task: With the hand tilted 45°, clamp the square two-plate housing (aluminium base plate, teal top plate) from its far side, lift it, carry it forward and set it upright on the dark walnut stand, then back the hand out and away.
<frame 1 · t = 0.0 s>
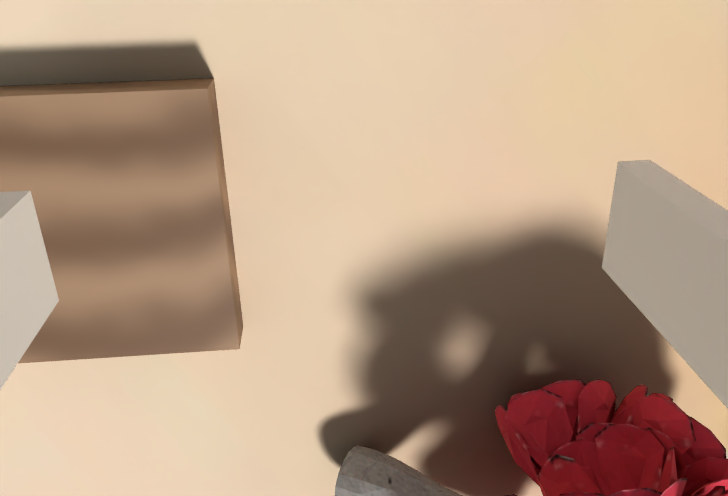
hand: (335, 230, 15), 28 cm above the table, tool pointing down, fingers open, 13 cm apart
walnut stand: (47, 222, 44), on the table
bouquet: (508, 438, 56), on the table
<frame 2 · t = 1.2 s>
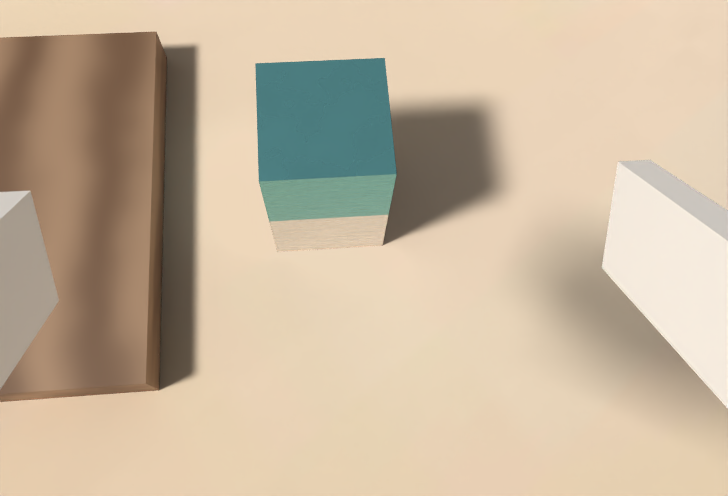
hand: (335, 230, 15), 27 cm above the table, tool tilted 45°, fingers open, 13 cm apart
walnut stand: (25, 217, 43), on the table
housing: (326, 200, 45), on the table
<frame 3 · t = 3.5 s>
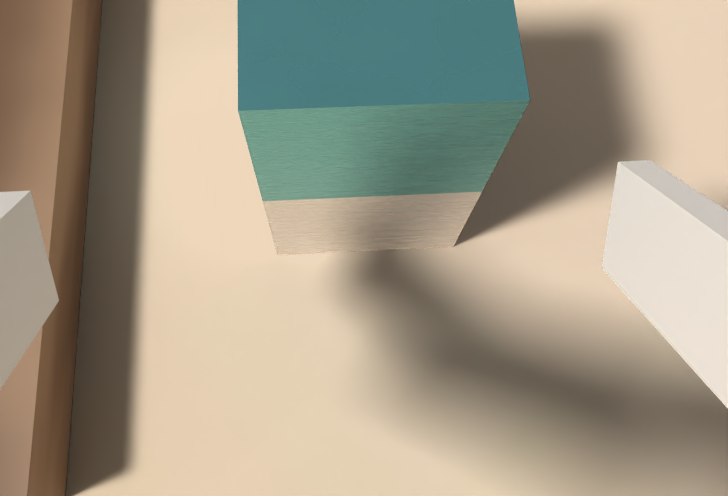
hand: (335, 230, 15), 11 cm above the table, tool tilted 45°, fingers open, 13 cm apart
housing: (360, 171, 27), on the table
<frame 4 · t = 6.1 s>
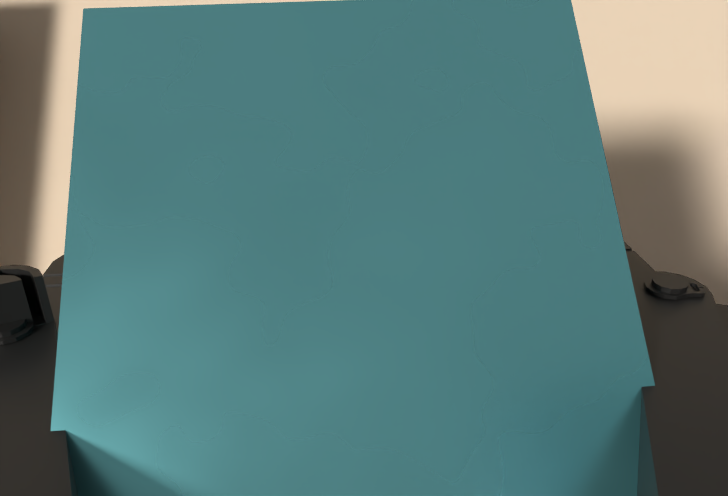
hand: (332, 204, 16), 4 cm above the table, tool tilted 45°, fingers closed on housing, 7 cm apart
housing: (340, 366, 19), on the table, touching gripper
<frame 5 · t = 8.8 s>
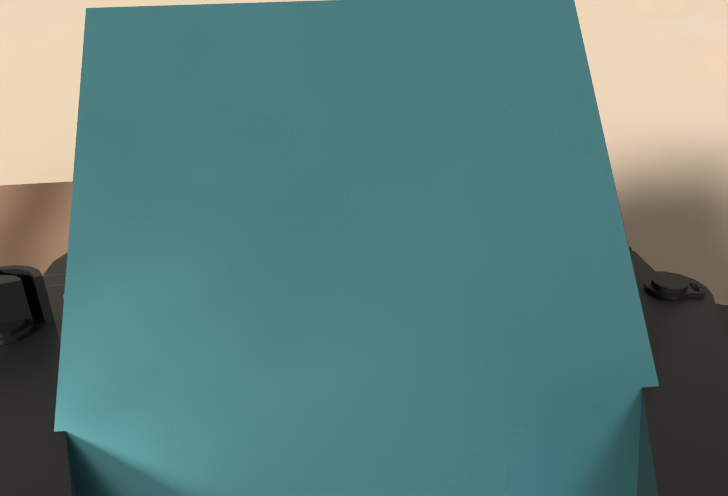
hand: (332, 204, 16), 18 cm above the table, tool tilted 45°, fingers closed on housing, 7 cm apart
walnut stand: (161, 424, 32), on the table
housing: (341, 366, 19), point 15 cm above the table, touching gripper
when the fingers open (8 cm above the table, at t = 11.8 s): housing drops 1 cm, resting on walnut stand.
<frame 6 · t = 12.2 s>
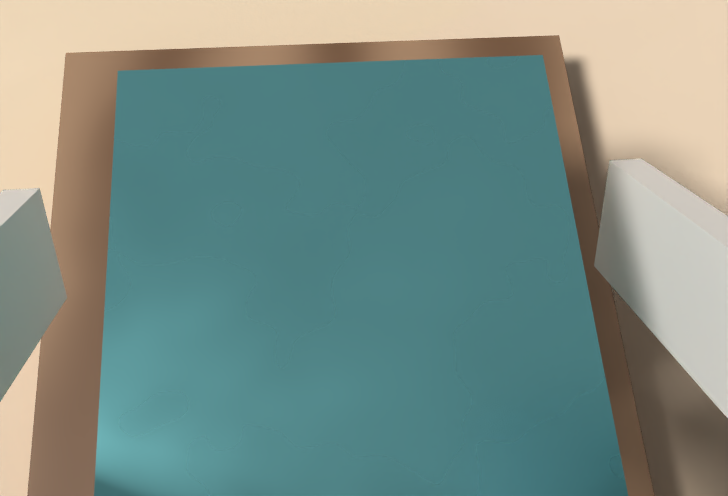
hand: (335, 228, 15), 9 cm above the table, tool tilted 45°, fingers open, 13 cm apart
walnut stand: (338, 386, 23), on the table
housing: (340, 375, 20), point 3 cm above the table, touching walnut stand
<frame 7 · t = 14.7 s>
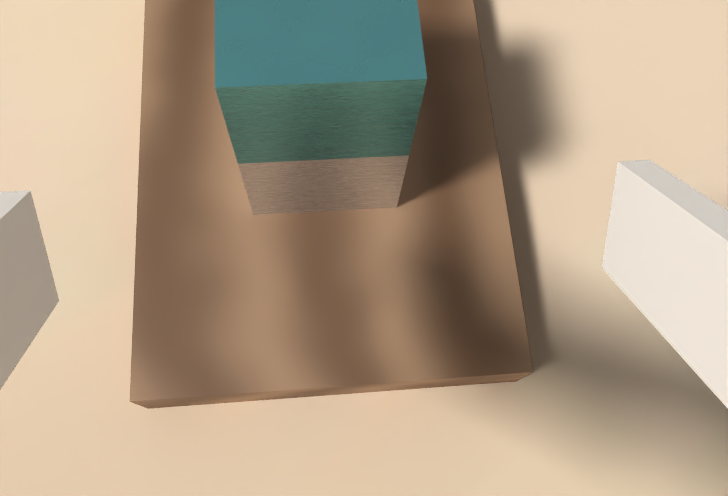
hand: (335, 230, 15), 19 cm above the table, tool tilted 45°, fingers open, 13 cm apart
walnut stand: (321, 172, 36), on the table
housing: (321, 147, 33), point 3 cm above the table, touching walnut stand
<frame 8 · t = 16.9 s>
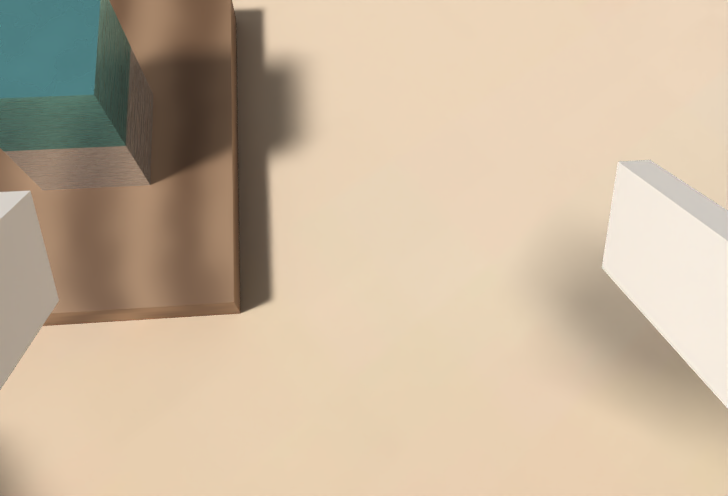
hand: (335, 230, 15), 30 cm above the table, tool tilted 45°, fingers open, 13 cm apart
walnut stand: (113, 160, 48), on the table
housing: (99, 141, 45), point 3 cm above the table, touching walnut stand
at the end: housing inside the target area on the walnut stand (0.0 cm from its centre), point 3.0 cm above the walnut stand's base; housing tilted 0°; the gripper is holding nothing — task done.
